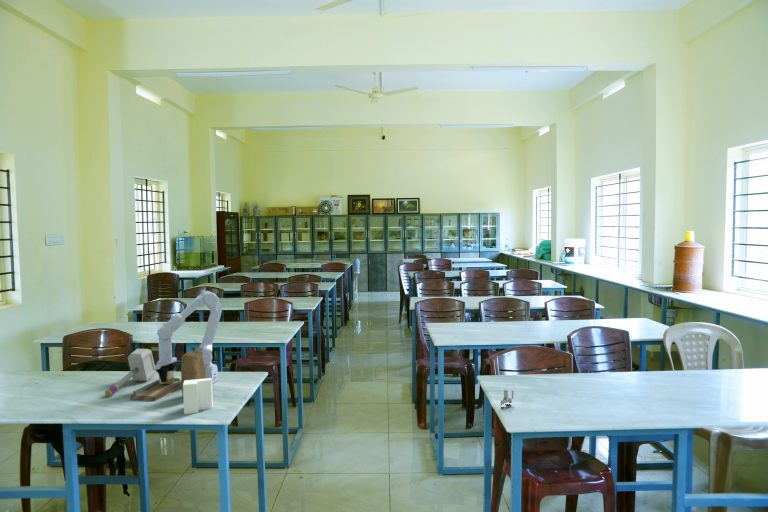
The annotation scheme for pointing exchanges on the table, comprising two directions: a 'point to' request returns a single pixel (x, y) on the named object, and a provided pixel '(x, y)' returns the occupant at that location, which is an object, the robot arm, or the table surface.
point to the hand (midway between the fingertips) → (166, 380)
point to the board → (155, 390)
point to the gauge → (169, 378)
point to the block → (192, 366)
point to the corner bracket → (197, 395)
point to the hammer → (136, 369)
